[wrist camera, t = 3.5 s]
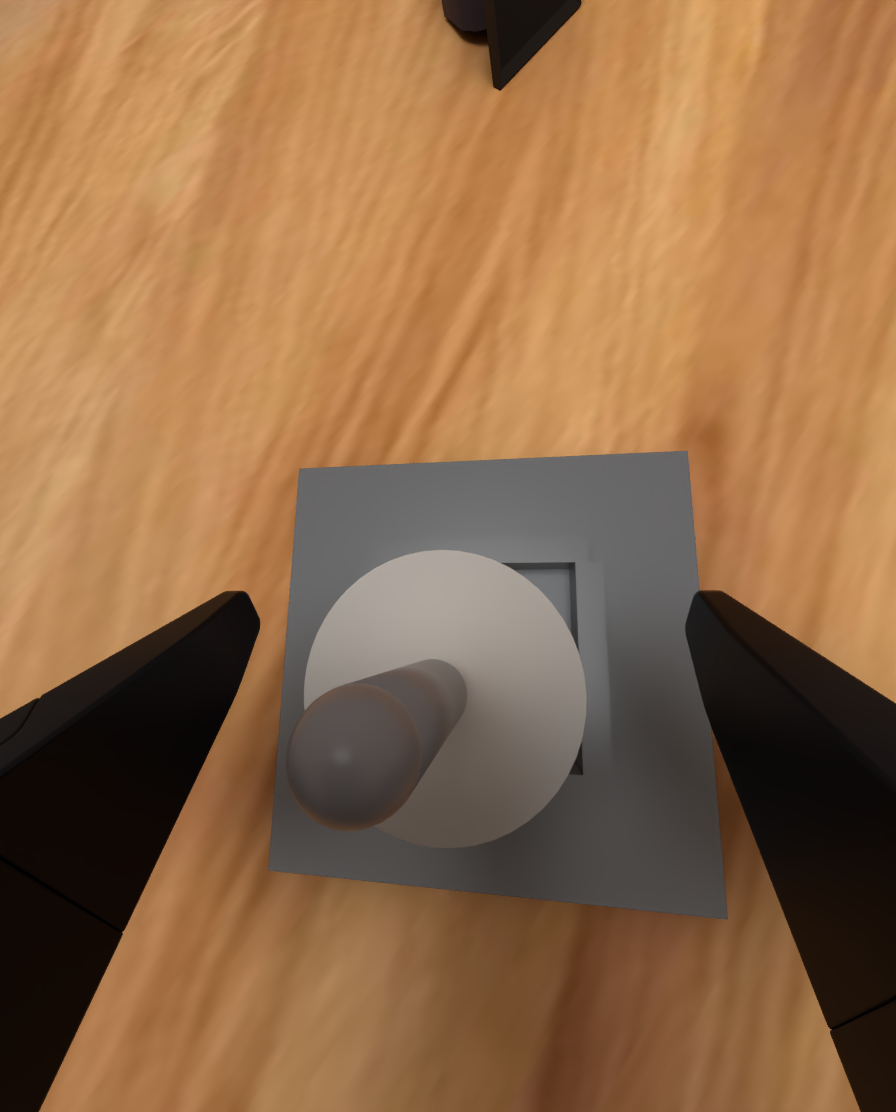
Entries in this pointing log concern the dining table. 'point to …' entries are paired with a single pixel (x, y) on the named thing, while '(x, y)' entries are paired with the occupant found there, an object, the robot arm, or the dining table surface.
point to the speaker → (510, 28)
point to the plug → (437, 703)
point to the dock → (606, 655)
